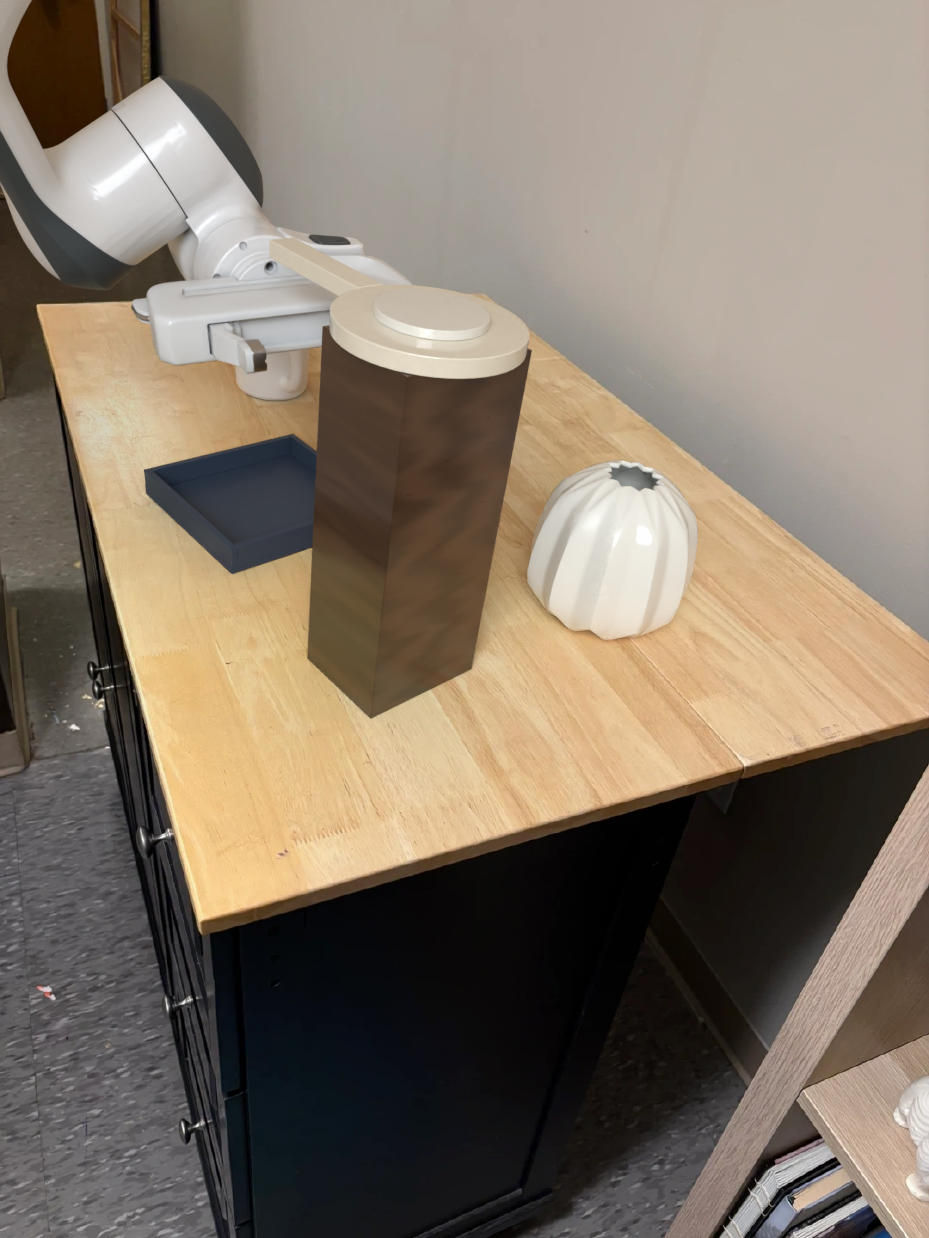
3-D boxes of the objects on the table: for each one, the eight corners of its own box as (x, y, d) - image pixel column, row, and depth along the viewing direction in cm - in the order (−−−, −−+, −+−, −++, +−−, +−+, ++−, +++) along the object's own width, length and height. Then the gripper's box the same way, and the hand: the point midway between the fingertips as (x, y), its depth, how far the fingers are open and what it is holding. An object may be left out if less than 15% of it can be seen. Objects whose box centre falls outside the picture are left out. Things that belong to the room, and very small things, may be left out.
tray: (231, 574, 77) (231, 549, 75) (145, 493, 85) (143, 469, 84) (382, 524, 87) (384, 500, 85) (292, 456, 95) (292, 433, 93)
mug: (331, 412, 104) (336, 324, 98) (261, 420, 100) (262, 328, 94) (291, 370, 112) (294, 285, 106) (225, 375, 108) (224, 288, 102)
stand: (370, 719, 66) (406, 377, 50) (306, 658, 70) (322, 326, 54) (471, 669, 72) (532, 350, 56) (407, 616, 76) (447, 306, 60)
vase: (704, 634, 80) (755, 501, 72) (583, 676, 73) (624, 535, 65) (605, 552, 88) (640, 425, 80) (487, 583, 81) (513, 448, 73)
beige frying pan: (416, 394, 48) (419, 362, 47) (203, 264, 60) (202, 235, 59) (566, 359, 55) (573, 330, 54) (350, 249, 67) (352, 223, 66)
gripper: (118, 256, 67) (166, 327, 58) (375, 236, 75) (452, 294, 66) (132, 340, 71) (178, 418, 62) (374, 311, 79) (446, 376, 70)
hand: (322, 353), depth 64 cm, fingers open, 8 cm apart
